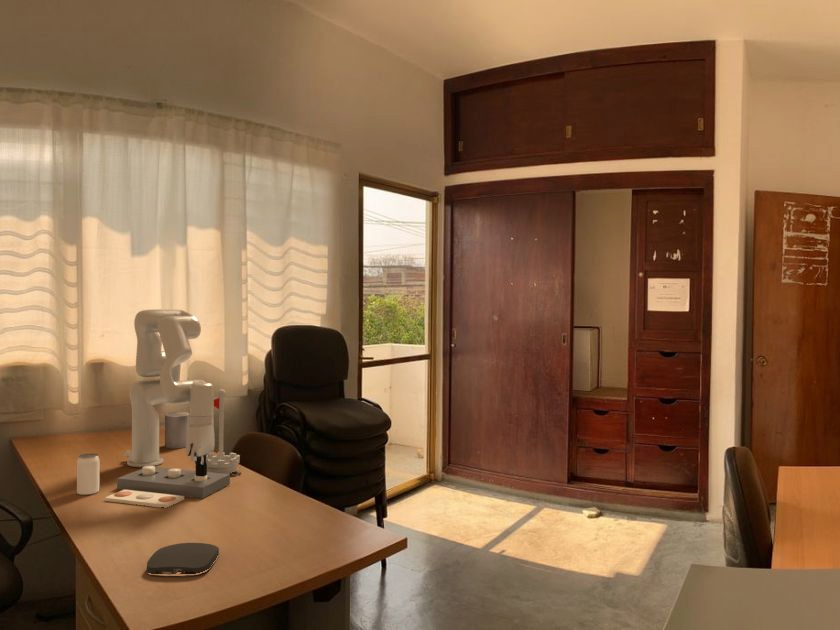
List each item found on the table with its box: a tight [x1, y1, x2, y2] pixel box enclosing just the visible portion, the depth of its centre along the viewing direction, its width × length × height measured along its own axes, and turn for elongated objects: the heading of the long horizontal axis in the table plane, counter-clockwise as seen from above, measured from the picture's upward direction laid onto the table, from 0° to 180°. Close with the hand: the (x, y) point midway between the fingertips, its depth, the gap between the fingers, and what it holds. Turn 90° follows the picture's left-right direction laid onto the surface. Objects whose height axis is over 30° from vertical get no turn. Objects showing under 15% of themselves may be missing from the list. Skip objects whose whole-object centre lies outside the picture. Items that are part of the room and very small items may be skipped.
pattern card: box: [104, 489, 185, 509], centre depth 205 cm, size 22×9×1 cm, turn 75°
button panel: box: [116, 466, 231, 499], centre depth 219 cm, size 32×16×4 cm, turn 75°
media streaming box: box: [146, 542, 220, 574], centre depth 158 cm, size 15×15×3 cm
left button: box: [141, 466, 156, 476], centre depth 221 cm, size 4×4×3 cm
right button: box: [194, 475, 207, 482], centre depth 216 cm, size 4×4×3 cm
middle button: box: [168, 468, 182, 479], centre depth 219 cm, size 4×4×3 cm
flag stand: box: [207, 388, 241, 474], centre depth 239 cm, size 13×13×30 cm
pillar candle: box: [164, 411, 190, 449], centre depth 276 cm, size 10×10×15 cm
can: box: [76, 452, 100, 496], centre depth 211 cm, size 6×6×12 cm
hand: (201, 475), depth 216 cm, fingers closed
